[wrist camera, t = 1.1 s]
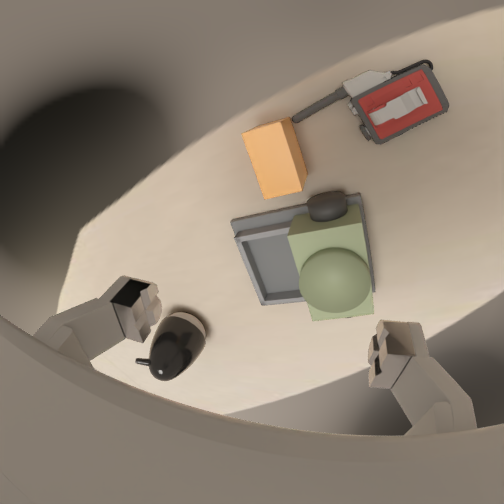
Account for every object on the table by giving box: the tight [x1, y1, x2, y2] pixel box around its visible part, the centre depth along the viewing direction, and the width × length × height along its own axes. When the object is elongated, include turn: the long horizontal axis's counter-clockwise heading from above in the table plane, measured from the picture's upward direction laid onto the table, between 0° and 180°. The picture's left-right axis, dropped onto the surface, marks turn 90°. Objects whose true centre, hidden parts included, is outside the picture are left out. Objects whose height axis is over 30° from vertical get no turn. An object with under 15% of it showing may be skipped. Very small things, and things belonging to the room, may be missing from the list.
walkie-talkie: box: [292, 60, 449, 144], centre depth 28 cm, size 9×4×20 cm
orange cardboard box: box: [241, 117, 308, 199], centre depth 33 cm, size 4×8×7 cm, turn 20°
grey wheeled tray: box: [230, 192, 375, 321], centre depth 39 cm, size 19×18×9 cm
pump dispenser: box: [136, 312, 206, 381], centre depth 53 cm, size 10×10×15 cm
